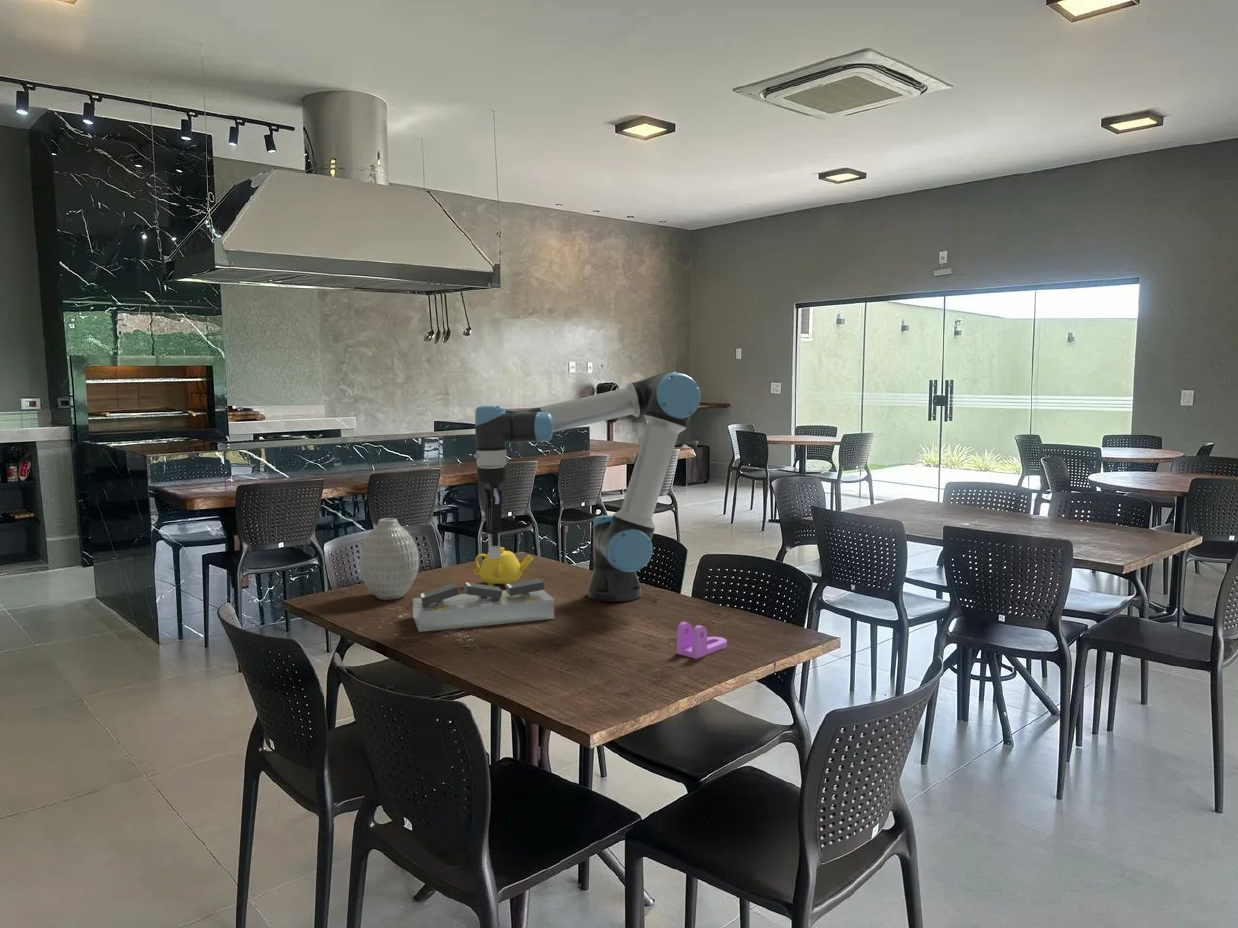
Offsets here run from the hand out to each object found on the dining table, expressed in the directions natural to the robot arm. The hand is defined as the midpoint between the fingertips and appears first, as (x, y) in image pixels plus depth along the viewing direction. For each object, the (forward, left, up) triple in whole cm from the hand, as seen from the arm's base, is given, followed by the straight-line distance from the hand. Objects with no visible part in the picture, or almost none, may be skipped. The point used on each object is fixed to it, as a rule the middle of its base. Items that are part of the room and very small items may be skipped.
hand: (494, 557), depth 220 cm
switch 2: (+3, 0, -8) cm, 9 cm away
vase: (+24, -31, -16) cm, 42 cm away
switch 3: (-8, 0, -8) cm, 11 cm away
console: (+3, 0, -16) cm, 16 cm away
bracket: (-39, +43, -16) cm, 60 cm away
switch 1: (+14, 0, -8) cm, 17 cm away
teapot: (-9, -34, -16) cm, 38 cm away
